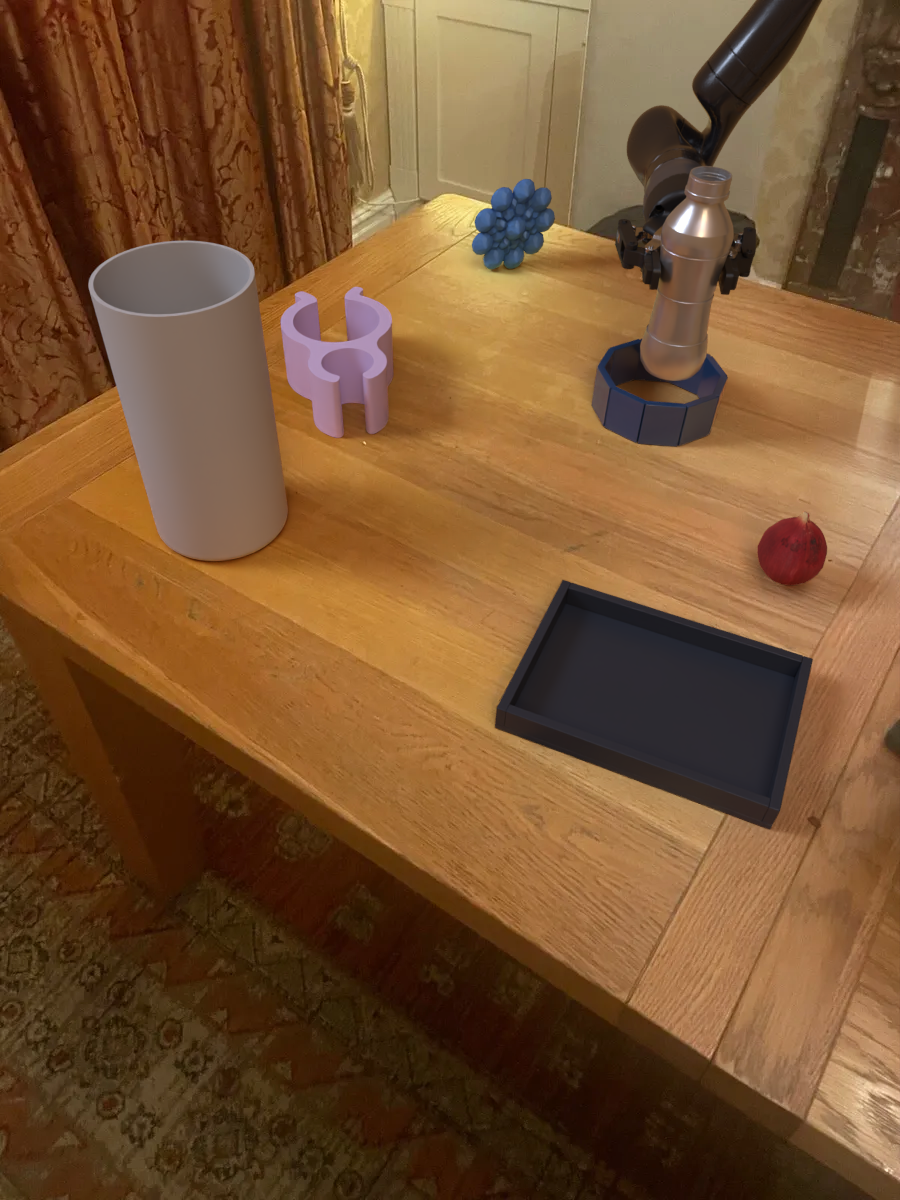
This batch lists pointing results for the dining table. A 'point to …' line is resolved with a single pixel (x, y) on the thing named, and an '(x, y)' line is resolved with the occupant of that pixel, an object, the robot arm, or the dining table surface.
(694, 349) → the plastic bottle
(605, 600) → the tray
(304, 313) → the clip
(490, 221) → the grapes
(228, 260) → the cylinder vase
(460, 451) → the dining table surface
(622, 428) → the blue faceted ring
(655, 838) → the dining table surface
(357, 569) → the dining table surface
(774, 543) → the onion
